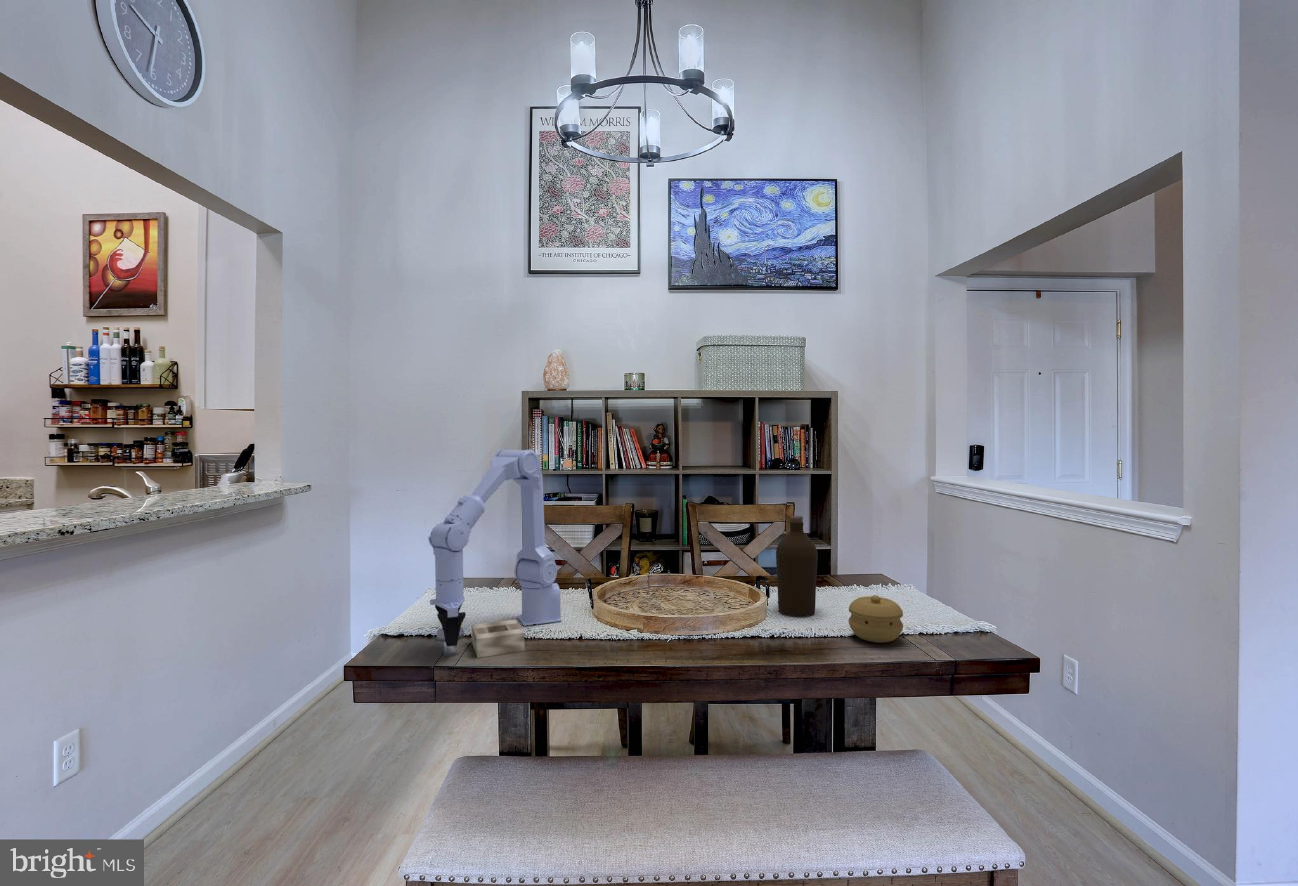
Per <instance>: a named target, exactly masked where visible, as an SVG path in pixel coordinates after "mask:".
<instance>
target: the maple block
mask: <svg viewBox="0 0 1298 886" xmlns="http://www.w3.org/2000/svg"><path fill="white" fill-rule="evenodd" d="M471 644H472V646H473V650H474V652H475V655H476V658H484V657H492V656H499V655H505V654H511V653H517V652H518V653H519V652H525V646H526V645H525V631H524V630H523V628H522V626H521V625H520V624H519V622H518V620H517V619H516V618H515V619H509V620H508V619H507V620H500V621H499V620H498V621H493V622H486V623H476V624H471Z"/></svg>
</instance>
